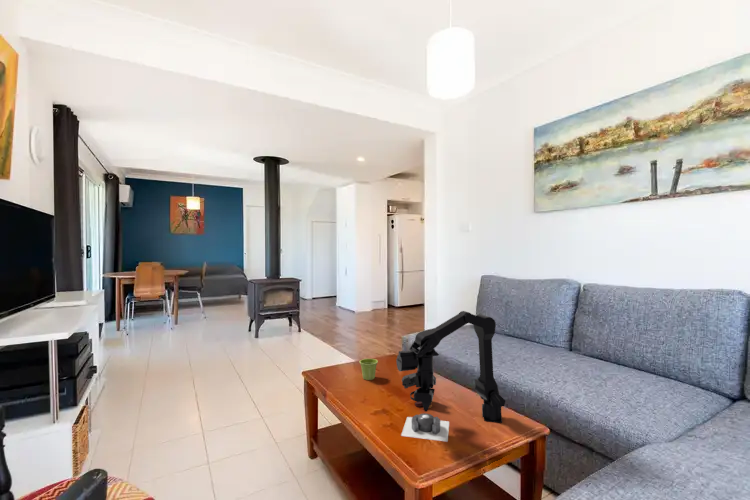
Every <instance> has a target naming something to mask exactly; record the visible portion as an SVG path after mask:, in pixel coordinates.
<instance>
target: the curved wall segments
mask: <svg viewBox="0 0 750 500" xmlns="http://www.w3.org/2000/svg"><path fill="white" fill-rule="evenodd" d="M418 415H419V414H415V415H413V416H411V417H412V430H413V431H414V432H418ZM433 417H434V424H432V433H433V434H435V435H436V434H438V433H439V432H440V421H441V419H440V418H439V417H438V416H433Z"/></svg>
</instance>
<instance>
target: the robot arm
mask: <svg viewBox="0 0 750 500" xmlns="http://www.w3.org/2000/svg"><path fill="white" fill-rule="evenodd" d="M496 323H497V322H496V320H495V319H494V318H493V317H490V316H487V315H484V314H477V315H475V314H473V313H471V312H468V311H466V310H461V311H460V312H459V313H457V314H455V315H454V316H452V317H451V318H449V319H448V320H446V321H444V322H442V323H441V324H439V325H438V326H436V327H434V328H429V329H425V330H422V331H420V332H418V333H416V334H415V338H414V341H413V342H412V345H411V346H410V347H409V350H405V351H404V350H399V351H398V354H397V356H396V360H395V361H396V367H397V370H398V372H409V371H414V370H416V372H413V373H409V374H406V375H404V376H403V377H401V378H402V379H401V382H402V383H401V385H402V386H403V388H404V389H408V388H411V387H414V386H415V387H416V389H415V390H414V391H415V393H414V394H413V398H414V400H413V401H414V402H416V401H419V402H422V404H423V406H422V409H423V411H424V412H425V413H427V412H428V411H429V409H430V408H429V406H430V403H431V402H432V403H433V399H434V394H435V388H434V386H437V377H436V376H435V375H434V374H435V373H434V372H435V369H434V357H437V356H439V352H437V351H436V350H435V348H436V347H437V346H439V345H440V343H441V341H442V340H443V339H444V338H446V337H448V336H449V335H451V334H453V333H454V332H456V331H457V330H459V329H461V328H462V327H464V326H465V325H467V324H471V325H473V329H474V332H475V334H476V336H477V339H478V340H477V341H478V357H479V358H478V359H479V377H478V378H475V379H474V383H475V384H474V385H475V387H474V390H475V391H476V393H477V394H478V395H479V397H480V399H481V400H483V403H482V404H481V413H482V414H481V415H482V418H483V420H484V422H490V423H497V424H498V423H499V424H503V420H502V408H503V407H505V405H506V400H505V399H504V397H503V396H501V394H500V391H499V386H498V383H497V381H496V378H495V377H494V361H493V357H494V356H493V344H492V343H493V342H492V341H493V338H494V336H495V333H496V327H497V324H496ZM432 403H431V404H432Z"/></svg>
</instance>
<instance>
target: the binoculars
mask: <svg viewBox="0 0 750 500" xmlns="http://www.w3.org/2000/svg"><path fill="white" fill-rule="evenodd" d="M415 391H416V390H413V391H411V392H410V393H409V396H410V400H412V401H414V397H413V396H412V395H414V393H415ZM432 403H433V401H432V402H431V403H430V406H429V408H428V409H431V408H433V404H432ZM414 407H416V408H419V407H423V404H422V402H419V401H415V403H414Z"/></svg>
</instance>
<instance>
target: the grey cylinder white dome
mask: <svg viewBox="0 0 750 500" xmlns="http://www.w3.org/2000/svg"><path fill="white" fill-rule="evenodd" d="M417 415H418V429H419V430H420V431H423V432H431V431H432V424H434V417H435V416H434V415H432V414H430V413H427V412H425V413H424V412H423V413H420V414H417Z"/></svg>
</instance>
